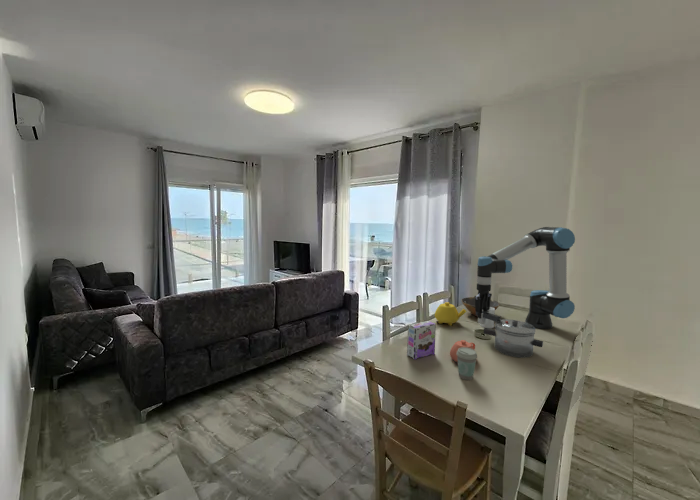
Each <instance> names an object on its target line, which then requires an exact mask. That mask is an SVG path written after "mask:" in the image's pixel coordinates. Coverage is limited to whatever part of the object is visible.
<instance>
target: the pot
mask: <svg viewBox="0 0 700 500" xmlns="http://www.w3.org/2000/svg"><path fill="white" fill-rule="evenodd" d="M494 328H495V329H493V328H483V334H485V335H489V336H492V337H493V336H494V349H495V350H496V351H497V352H499V353H501V354H503V355H505V356H510V357H514V358H530V357H532V356H533V355H534V346H535V347H538V348H543V346H544V340H539V339H535V334H536V332H535V333H533V334H514V333H509V332H506V331H503V330H500V329H498V328H497V327H496V326H495V325H494Z"/></svg>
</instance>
